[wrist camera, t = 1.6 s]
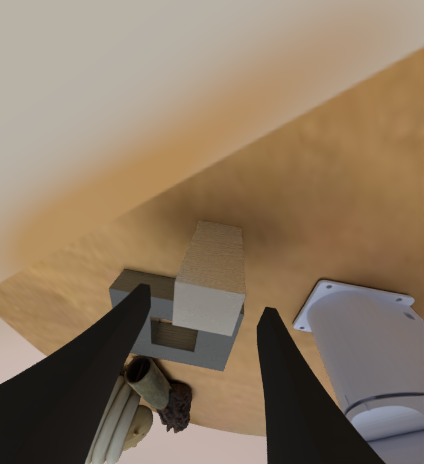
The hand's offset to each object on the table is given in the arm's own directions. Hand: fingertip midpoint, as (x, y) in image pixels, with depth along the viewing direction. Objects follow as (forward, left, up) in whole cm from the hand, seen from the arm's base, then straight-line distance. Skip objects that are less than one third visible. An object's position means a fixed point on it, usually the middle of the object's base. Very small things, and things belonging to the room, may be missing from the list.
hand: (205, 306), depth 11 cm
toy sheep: (+13, +34, -8) cm, 37 cm away
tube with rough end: (+4, +32, -8) cm, 34 cm away
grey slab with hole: (+3, +12, -8) cm, 14 cm away
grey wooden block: (0, 0, -8) cm, 8 cm away
